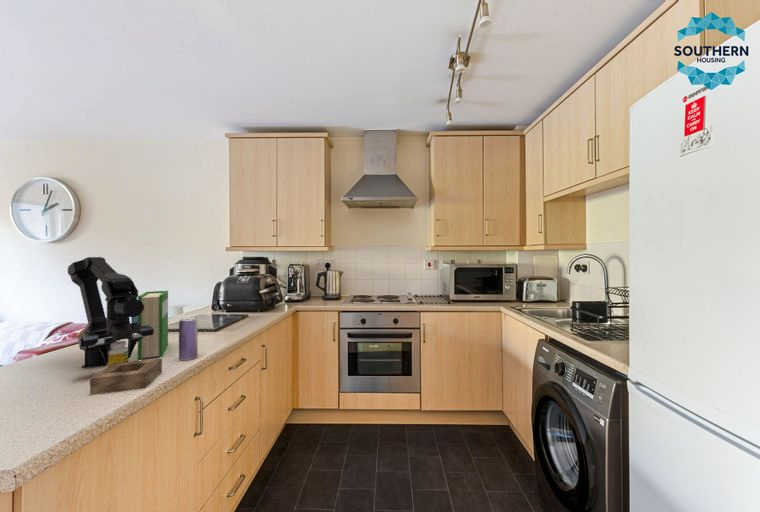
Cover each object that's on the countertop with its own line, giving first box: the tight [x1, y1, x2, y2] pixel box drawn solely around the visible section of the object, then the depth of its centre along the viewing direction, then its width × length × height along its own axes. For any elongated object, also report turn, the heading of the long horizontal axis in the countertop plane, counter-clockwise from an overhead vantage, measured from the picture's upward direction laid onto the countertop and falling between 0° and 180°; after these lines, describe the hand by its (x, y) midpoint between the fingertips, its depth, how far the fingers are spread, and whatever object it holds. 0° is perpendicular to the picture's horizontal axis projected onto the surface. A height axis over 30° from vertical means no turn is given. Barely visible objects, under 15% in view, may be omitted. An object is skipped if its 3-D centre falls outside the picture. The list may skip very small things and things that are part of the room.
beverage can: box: [178, 317, 199, 361], centre depth 114 cm, size 6×6×15 cm
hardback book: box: [137, 290, 169, 361], centre depth 121 cm, size 18×7×24 cm, turn 30°
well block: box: [89, 358, 163, 395], centre depth 92 cm, size 13×13×4 cm
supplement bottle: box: [106, 340, 129, 368], centre depth 102 cm, size 5×5×10 cm
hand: (118, 360), depth 102 cm, fingers closed on supplement bottle, 5 cm apart
